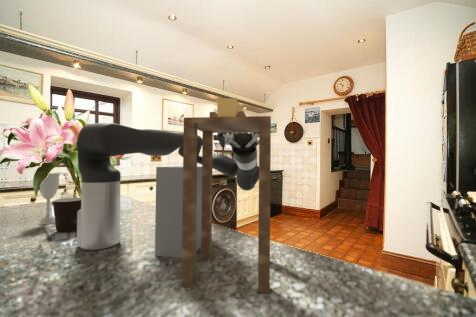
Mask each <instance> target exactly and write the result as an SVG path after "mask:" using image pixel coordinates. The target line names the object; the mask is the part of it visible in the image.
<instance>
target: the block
mask: <svg viewBox="0 0 476 317" xmlns="http://www.w3.org/2000/svg"><path fill="white" fill-rule="evenodd" d="M155 168H156V170H155V171H156V172H155V219H154V220H155V225H154V227H155V229H154V232H155V233H154V234H155V235H154V257H164V258H176V259H177V258H178V259H182V214H183V165H181V166H180V165H177V166H175V165H174V166H156V167H155ZM201 217H202V165H200V166H198V165H197V205H196V253H197V252H198V251H199V249H201Z"/></svg>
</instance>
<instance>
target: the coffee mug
mask: <svg viewBox="0 0 476 317" xmlns="http://www.w3.org/2000/svg"><path fill="white" fill-rule="evenodd" d="M52 207H53V216H54V218H55V223H54V224H55V232H56V233H59V234H62V233H65V234H66V233H72V231H73V232H77V212H78V211H79V210H81V197H64V198H56V199H52Z"/></svg>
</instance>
